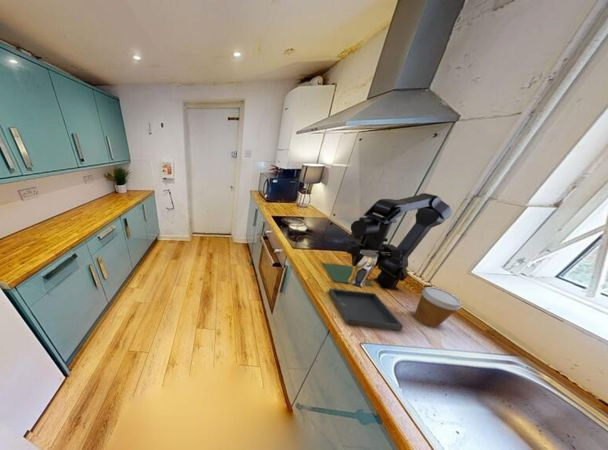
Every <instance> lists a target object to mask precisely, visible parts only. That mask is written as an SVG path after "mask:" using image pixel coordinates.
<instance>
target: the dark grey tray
mask: <svg viewBox="0 0 608 450" xmlns="http://www.w3.org/2000/svg"><path fill="white" fill-rule="evenodd" d="M327 292H328V295H329V296H330V298H331V300H332V302H333V304H334V306H335V307H336V309H337V312H339V314H340V316H341V317H342V320H343V321H344V323H345V324H346V325H349V326H358V327H366V328H374V329H381V330H388V331H395V332H396V331H397V332H401V331H402V329H403V327H404V325H403V324H402V323H401V322H400V321H399V319H397V318H396V316H395V315H394V314H393V313H392V311H391V310H390V309H389V308H388V307H387V305H385V303H384V302H383V301H382V300H381V299H380V297H379V296H378V295H377V294H376V293H375V292H366V291H365V292H364V291H363V292H362V291H357V290H356V291H355V290H347V289H340V288H339V289H338V288H329V290H328V291H327Z"/></svg>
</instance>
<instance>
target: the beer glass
mask: <svg viewBox="0 0 608 450" xmlns="http://www.w3.org/2000/svg"><path fill="white" fill-rule="evenodd" d="M360 254H361V255H362V256H361V258H360V260H359V261H358V263H357V264H356V266H353V265H352V266H353V268H352V273H351V275H350V277H349V278H348V282H349V283H348V284H349V285H351V286H353V287H355V288H360V289H361V288H364V287H365V286H366V285H365V282H366V279H367V280H368V277H369V276H370V275H371V274H372V272H373V271H374V269H375V268H376V267H377V266H376V263H377V260H378V257H379V256H378V254H376V253H375V251H362V250H361V252H360ZM375 266H376V267H375Z"/></svg>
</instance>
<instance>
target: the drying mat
mask: <svg viewBox="0 0 608 450" xmlns="http://www.w3.org/2000/svg"><path fill="white" fill-rule="evenodd" d="M322 265H323V267H324V268H325V270H326V271H327V273H328V274H329V276H330V278H331V279H332V281H333V282H334V283H344V284H350V283H349V282H348V278H349V277H350V275H351V273H352V268H353V265H342V264H332V263H322ZM365 286H370V287H372V286H373V284H371V282H370V281H369V280H368V278H367V279H366V282H365Z"/></svg>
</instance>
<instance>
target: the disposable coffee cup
mask: <svg viewBox="0 0 608 450" xmlns="http://www.w3.org/2000/svg"><path fill="white" fill-rule="evenodd" d="M462 308H463V307H462V301H461V300H460V299H459V298H458V297H457V296H456V295H455V294H453V293H451V292H449V291H447V290H444V289H442V288H438V287H434V286H427V287H425V288H423V289H422V290H421V295H420V299H419V302H418V304H417V306H416V308H415V311H414V315H413V316H414V317H415V319H416V320H417V321H418V322H420V323H421V324H423V325H425V326H427V327H430V328H438V327H439V326H440V325H441V324H443V323H444V322H445V321H446V320H447V319H448V318H450V316H452V315H453V314H454V313H455V312H456V311H458V310H461V309H462Z"/></svg>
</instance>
